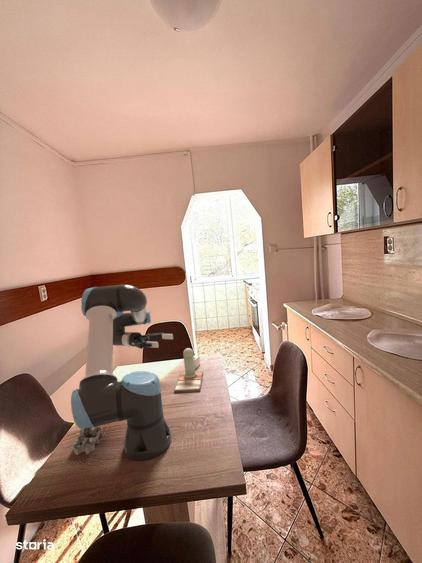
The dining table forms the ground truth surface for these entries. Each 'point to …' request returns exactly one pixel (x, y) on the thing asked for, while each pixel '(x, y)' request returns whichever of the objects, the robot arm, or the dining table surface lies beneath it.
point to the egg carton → (87, 440)
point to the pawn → (189, 364)
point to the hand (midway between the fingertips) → (165, 340)
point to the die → (196, 361)
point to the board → (189, 383)
